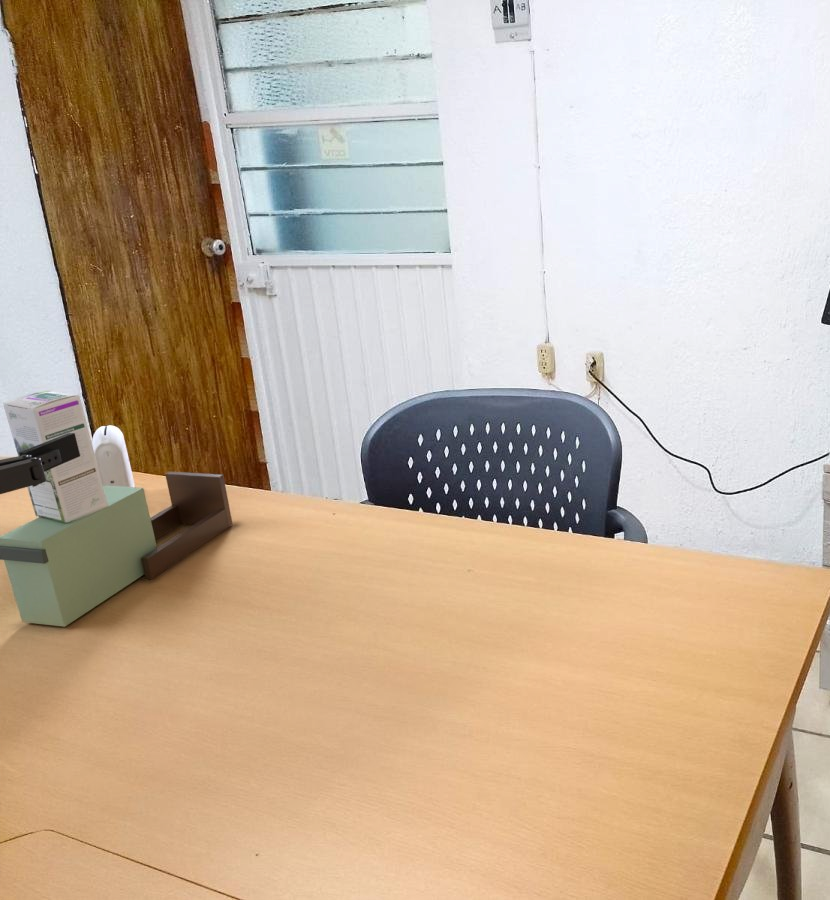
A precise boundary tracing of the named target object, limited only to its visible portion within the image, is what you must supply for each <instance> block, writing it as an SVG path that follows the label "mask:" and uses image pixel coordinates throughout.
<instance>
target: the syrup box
mask: <svg viewBox="0 0 830 900" xmlns="http://www.w3.org/2000/svg"><path fill="white" fill-rule="evenodd" d="M2 405H3V408H4V412H5V415H6V419H7V422H8V426H9V429H10V432H11V437H12V440H13V443H14V447H15V450H16V452H17V456H20V455H19V452H22V451H24V450H27V449H29V448H32V447H34V446H37V445H39V444H42V443H44V442H47V441H50V440H52V439H55V438H57V437H60V436H62V435H65V434H67V433H75V436H76V440H77V444H78V448H79V452H80V457H77V458H75V459H73V460H70V461H68V462H66V463H63V464H61V465H59V466H57V467H54V468H52V469H50V470H47V471H45V472H44V473H45V477H46V480H47V481H46V482H43V483H41V484H39V485H37V486H34V487H33V486H29V487H26V488H27V491H28V495H29V498H30V501H31V505H32V508H33V511H34V515H35V517H37V518H39V517H42V518H46V519H50V520H55V521H59V522H64V523H68V522H71V521H74V520H77V519H79V518H82V517H84V516H87V515H89V514H92V513H94V512H96V511H99V510H101V509H103V508H105V507H108V504H107V500H106V496H105V492H104V488H103V485H102V481H101V477H100V473H99V469H98V465H97V461H96V458H95V454H94V450H93V446H92V439H91V435H90V431H89V427H88V423H87V419H86V416H85V412H84V406H83V404H82V400H81V396H80V395H79V394H75V393H67V392H61V391H52V390H44V391H38V392H33V393H29V394H26V395H25V394H24V395H22V396H19V397H16V398H13V399H11V400H8V401H5V402H2Z"/></svg>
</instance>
